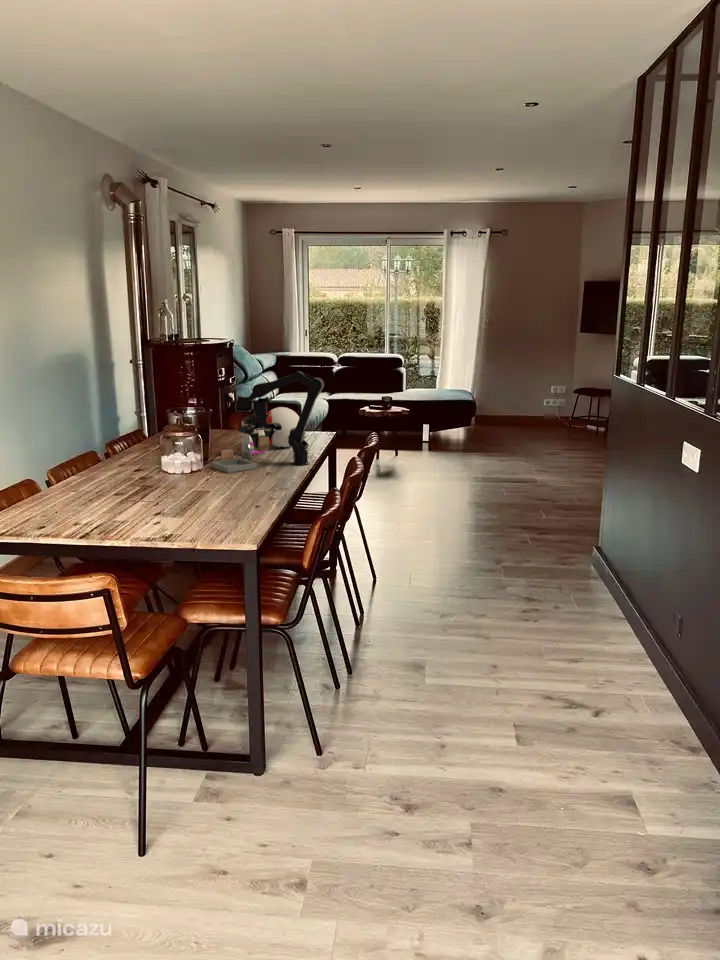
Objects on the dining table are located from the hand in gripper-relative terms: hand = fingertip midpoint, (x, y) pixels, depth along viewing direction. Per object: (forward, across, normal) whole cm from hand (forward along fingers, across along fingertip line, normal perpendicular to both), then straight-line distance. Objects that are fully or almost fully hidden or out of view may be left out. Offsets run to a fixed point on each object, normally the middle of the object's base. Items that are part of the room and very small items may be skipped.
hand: (261, 447), depth 329 cm
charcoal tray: (+7, +16, +3) cm, 18 cm away
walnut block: (+1, 0, 0) cm, 1 cm away
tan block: (+7, +11, -11) cm, 17 cm away
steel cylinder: (+7, +1, -11) cm, 13 cm away
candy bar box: (+7, -8, -19) cm, 22 cm away
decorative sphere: (+7, -28, -25) cm, 38 cm away
